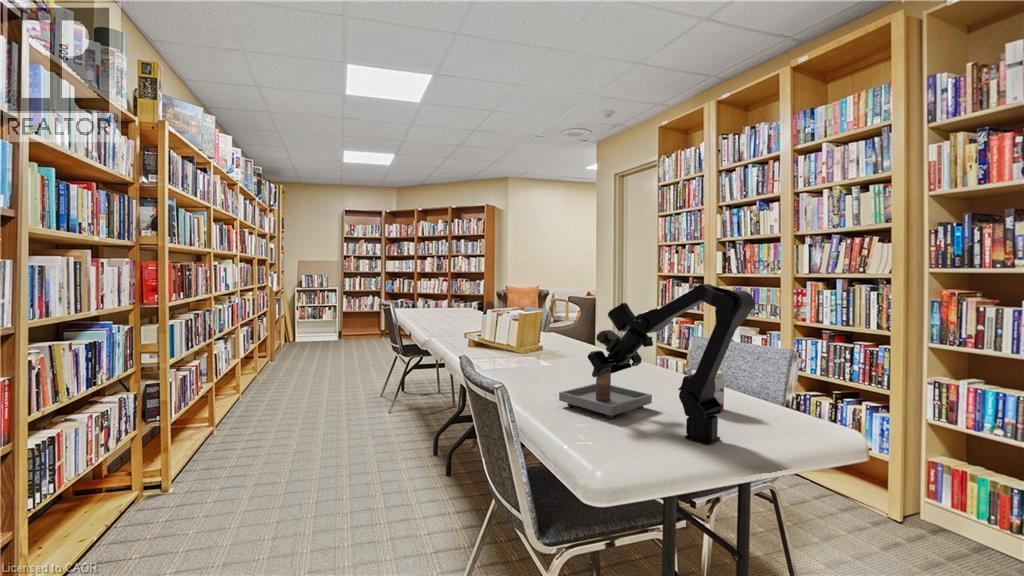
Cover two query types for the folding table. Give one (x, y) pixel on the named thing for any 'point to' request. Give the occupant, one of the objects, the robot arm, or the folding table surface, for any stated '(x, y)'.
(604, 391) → the walnut part
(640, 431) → the folding table surface
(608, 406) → the parts tray
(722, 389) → the ink box
